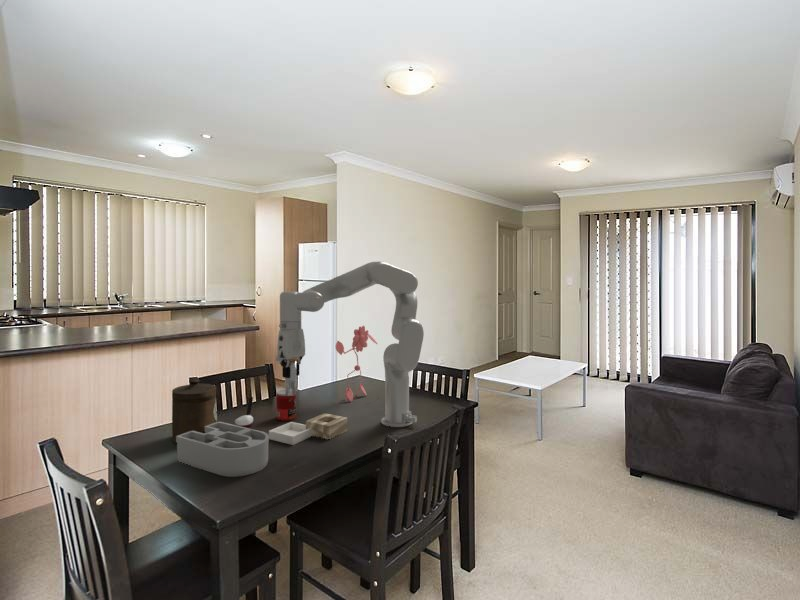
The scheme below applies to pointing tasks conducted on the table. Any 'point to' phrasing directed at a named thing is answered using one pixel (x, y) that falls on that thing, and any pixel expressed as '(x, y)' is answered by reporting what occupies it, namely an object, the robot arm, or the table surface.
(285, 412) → the canned food
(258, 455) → the grey compartment organizer
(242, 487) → the table surface
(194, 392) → the wooden container
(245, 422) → the white oval with stem
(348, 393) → the pink stick figure
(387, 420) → the robot arm
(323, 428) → the socket block
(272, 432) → the tray
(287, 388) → the steel pin
